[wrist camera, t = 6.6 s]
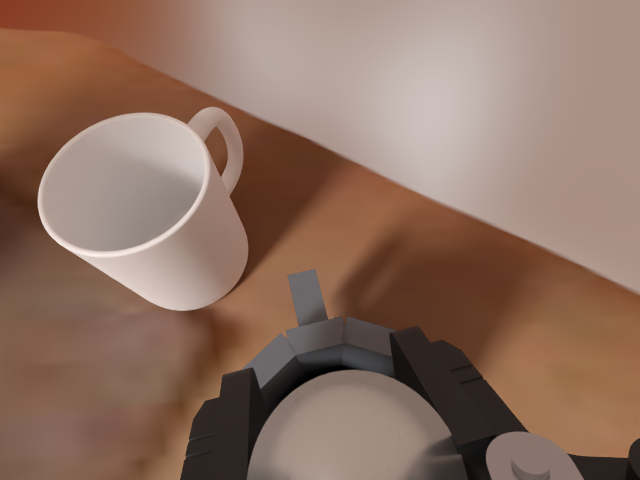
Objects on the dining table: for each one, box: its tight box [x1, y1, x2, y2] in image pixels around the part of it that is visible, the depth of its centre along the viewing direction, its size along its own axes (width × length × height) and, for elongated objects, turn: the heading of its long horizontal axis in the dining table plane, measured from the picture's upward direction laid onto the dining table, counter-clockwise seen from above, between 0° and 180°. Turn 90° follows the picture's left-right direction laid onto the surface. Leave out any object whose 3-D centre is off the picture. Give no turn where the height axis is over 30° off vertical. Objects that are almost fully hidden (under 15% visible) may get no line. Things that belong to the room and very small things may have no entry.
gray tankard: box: [242, 269, 398, 417], centre depth 18 cm, size 8×11×12 cm
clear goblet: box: [247, 370, 468, 480], centre depth 11 cm, size 5×5×12 cm
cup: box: [38, 107, 248, 311], centre depth 24 cm, size 8×12×10 cm
